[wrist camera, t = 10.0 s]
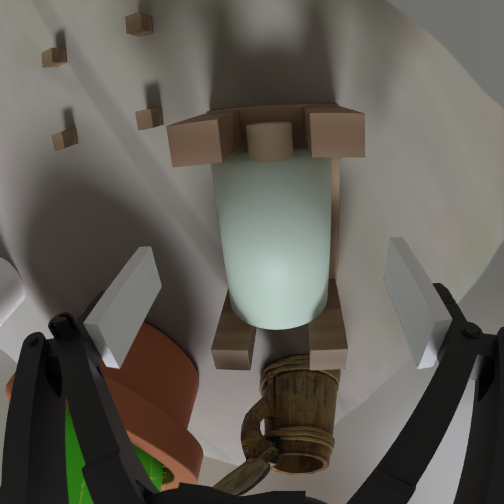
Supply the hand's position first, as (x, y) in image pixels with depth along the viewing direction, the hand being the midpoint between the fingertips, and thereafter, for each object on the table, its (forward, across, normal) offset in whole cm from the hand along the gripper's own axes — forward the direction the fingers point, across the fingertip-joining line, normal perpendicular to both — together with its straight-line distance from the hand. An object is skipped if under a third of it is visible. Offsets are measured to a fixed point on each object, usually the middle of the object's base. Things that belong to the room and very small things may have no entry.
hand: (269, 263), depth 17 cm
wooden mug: (+8, 0, -19) cm, 21 cm away
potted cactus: (+9, -19, -19) cm, 28 cm away
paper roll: (+7, 0, 0) cm, 7 cm away
